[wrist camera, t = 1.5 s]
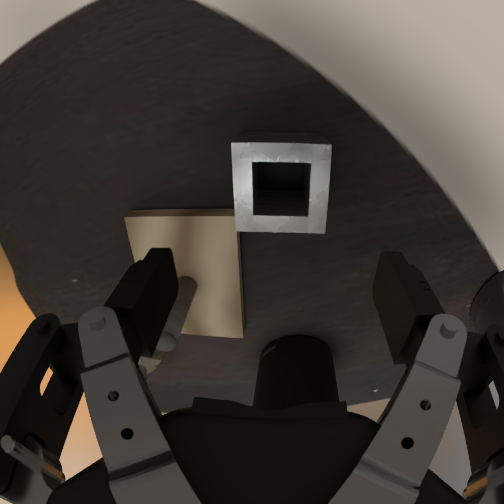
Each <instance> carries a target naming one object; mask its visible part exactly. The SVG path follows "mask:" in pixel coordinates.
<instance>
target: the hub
mask: <svg viewBox="0 0 504 504" xmlns="http://www.w3.org/2000/svg"><path fill="white" fill-rule="evenodd" d="M231 149H232V170H233V190H234V209H235V227H236V231H244V232H288V233H323V234H325V228H326V218H327V207H328V195H329V182H330V167H331V149H332V145H331V144H330V143H329V141H328V140H327V139H326V138H325V137H324V136H323V135H322V134H321V133H313V132H285V131H242V132H241V133H240V134H239V135H238V136H237V137H236V138H235V139H234V141H233V142H232V143H231ZM258 162H298V163H304V187H303V191H293V190H259V189H258Z"/></svg>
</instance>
